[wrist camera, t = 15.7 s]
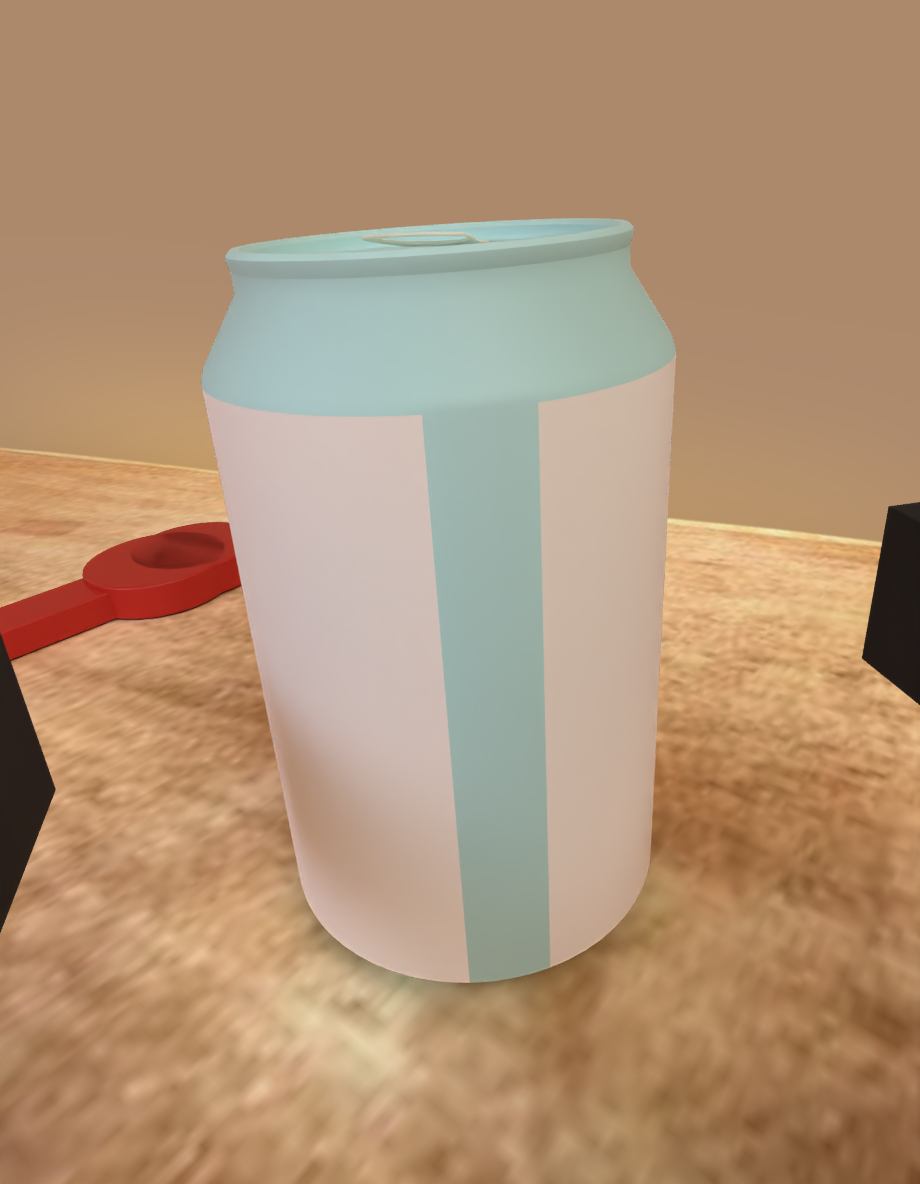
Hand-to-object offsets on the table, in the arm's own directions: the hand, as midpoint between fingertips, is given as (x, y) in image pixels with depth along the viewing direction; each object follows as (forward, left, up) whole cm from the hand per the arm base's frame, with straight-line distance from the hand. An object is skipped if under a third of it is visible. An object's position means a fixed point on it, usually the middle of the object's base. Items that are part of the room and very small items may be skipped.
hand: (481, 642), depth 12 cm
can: (+1, +2, -7) cm, 7 cm away
